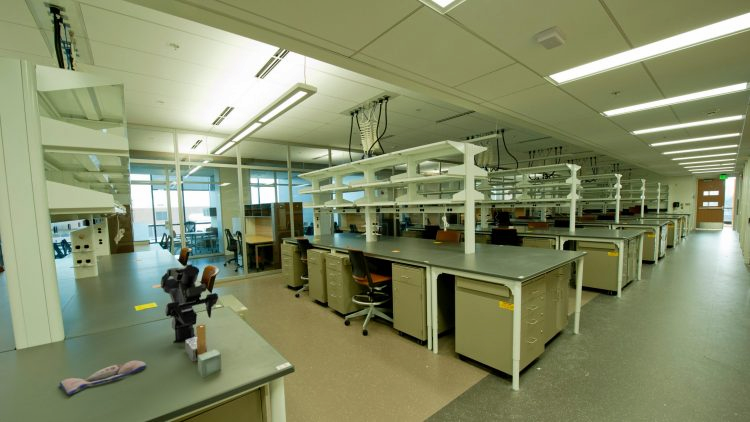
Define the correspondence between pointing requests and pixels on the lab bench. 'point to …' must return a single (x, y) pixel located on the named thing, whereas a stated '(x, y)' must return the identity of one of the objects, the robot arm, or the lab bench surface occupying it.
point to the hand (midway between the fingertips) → (197, 320)
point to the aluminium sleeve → (192, 348)
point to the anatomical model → (102, 376)
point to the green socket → (209, 363)
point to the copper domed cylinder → (201, 340)
